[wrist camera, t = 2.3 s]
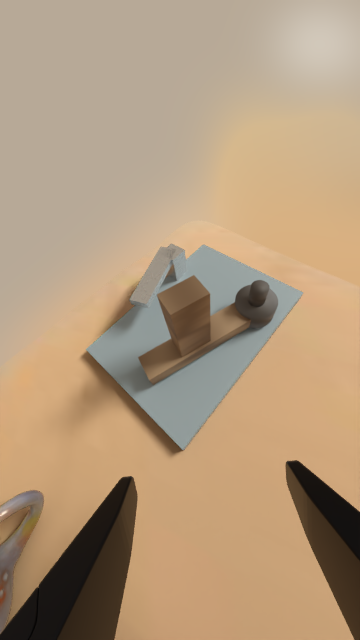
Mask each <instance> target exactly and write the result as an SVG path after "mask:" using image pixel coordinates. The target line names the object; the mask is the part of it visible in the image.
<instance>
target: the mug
mask: <svg viewBox="0 0 360 640" xmlns="http://www.w3.org/2000/svg"><path fill="white" fill-rule="evenodd" d="M43 505H44V496H43V494H42V493H41V492H40V491H37V490H31V491H26V492H23V493H21V494H19V495H17V496H15V497H13V498H12V499H10V500H8V501H7V502H5V503H4V504H2V505H1V506H0V523H1V522H2V521H4V520H5V519H6V518H8V517H9V516H11V515H12V514H14V513H15V512H17V511H19V510H21V509H23V508H25V507H28V506H29V507H30V508H29V511H28V513H27V515H26V517H25V518H24V520H23V521H22V523H21V524H20V526H19V527H18V528H17V530H16V531H15V532H14V533H13V534H12V536H11V537H10V538H9V539H8V540H6V541H5V542H4V543H3V544H1V545H0V633H1V632H2V631H3V630H4V629H5V627H6V624H7V621H8V617H9V614H10V609H11V604H12V596H13V572H14V568H15V565H16V563H17V560H18V558H19V556H20V554H21V552H22V550H23V548H24V546H25V544H26V542H27V540H28V539H29V537H30V535H31V533H32V531H33V529H34V528H35V526H36V524H37V522H38V520H39V518H40V515H41V512H42V509H43Z"/></svg>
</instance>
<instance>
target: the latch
mask: <svg viewBox="0 0 360 640" xmlns="http://www.w3.org/2000/svg"><path fill="white" fill-rule="evenodd" d="M157 297H158V300H159V303H160V306H161V309H162V312H163V315H164V318H165V321H166V324H167V327H168V330H169V333H170V336H171V339H169V340H168V341H166V342H164V343H162V344H160V345H159V346H157V347H155V348H153V349H152V350H150V351H148V352H146V353H145V354H143V355H141V356H139V357H138V359H139V361H140V363H141V365H142V367H143V369H144V371H145V373H146V375H147V377H148V379H149V380H150V382H151V383H152V384H153V385H154V384H156V383H158V382H159V381H161V380H163V379H164V378H166V377H168V376H169V375H171V374H172V373H174V372H176V371H177V370H179V369H181V368H182V367H184V366H186V365H187V364H189V363H191V362H192V361H194V360H196V359H197V358H199V357H201V356H202V355H204V354H206V353H207V352H209V351H211V350H212V349H214V348H216V347H217V346H219V345H221V344H222V343H224V342H226V341H227V340H229V339H231V338H232V337H234V336H236V335H237V334H239V333H241V332H242V331H244V330H246V329H247V328H261V327H264V326H266V325H268V324H269V323H270V322H271V320H272V319H273V316H274V314H275V312H276V309H277V307H278V298H277V296H276V294H275V293H274V292H273V291H272V290H271V289H270V286H269V284H268V283H267V282H265V281H263V280H256V281H254V282H253V283H252V284H251V285H247V286H245V287H243V288H241V289H240V290H239V291H238V292H237V294H236V297H235V302H234V303H232V304H231V305H229V306H227V307H225V308H224V309H222V310H220V311H218V312H217V313H215V314H213V315H211V316H210V293H209V291H208V290H207V289H206V288H205V287H204V286H203V285H202V283H201V282H200V281H199V280H198V279H197V278H196V277H195V275H193V276H191V277H189V278H187V279H185V280H183V281H182V282H180V283H178V284H176V285H174V286H172V287H170V288H168V289H166V290H164V291H162V292H161V293H159V294H157Z"/></svg>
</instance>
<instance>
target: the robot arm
mask: <svg viewBox="0 0 360 640" xmlns="http://www.w3.org/2000/svg"><path fill="white" fill-rule="evenodd" d="M286 480H287V485H288V488H289V491H290V493H291V496H292V499H293V501H294V504H295V507H296V509H297V512H298V515H299V518H300V520H301V523H302V526H303V528H304V531H305V534H306V536H307V539H308V541H309V543H310V546H311V548H312V550H313V552H314V554H315V557H316V559H317V561H318V563H319V565H320V567H321V569H322V571H323V574H324V576H325V578H326V580H327V582H328V584H329V586H330V588H331V591H332V593H333V595H334V597H335V599H336V601H337V603H338V605H339V608H340V610H341V612H342V614H343V616H344V618H345V620H346V623H347V625H348V627H349V629H350V631H351V633H352V635H353V637H354V640H360V512H359V511H358V510H357V509H356V508H354V507H353V506H352V505H351V504H350V503H348V502H347V501H346V500H345V499H344V498H342V497H341V496H340V495H339V494H338V493H336V492H335V491H334V490H333V489H332V488H330V487H329V486H328V485H327V484H326V483H324V482H323V481H322V480H321V479H320V478H318V477H317V476H316V475H315V474H314V473H312V472H311V471H310V470H309V469H308V468H306V467H305V466H304V465H303V464H302V463H300V462H299V461H297V460H294V461H287V462H286ZM136 508H137V491H136V486H135V482H134V478H133V477H132V476H129V477H122V478H121V479H120V480H119V482H118V483H117V484H116V486H115V487H114V488H113V489H112V491H111V492H110V493H109V495H108V496H107V497H106V498H105V500H104V501H103V502H102V504H101V505H100V506H99V508H98V509H97V510H96V511H95V513H94V514H93V515H92V517H91V518H90V519H89V521H88V522H87V523H86V524H85V526H84V527H83V528H82V530H81V531H80V532H79V533H78V535H77V536H76V537H75V539H74V540H73V541H72V543H71V544H70V545H69V546H68V548H67V549H66V550H65V552H64V553H63V554H62V556H61V557H60V558H59V559H58V561H57V562H56V563H55V565H54V566H53V567H52V569H51V570H50V571H49V572H48V574H47V575H46V576H45V578H44V579H43V580H42V581H41V583H40V584H39V588H36V589H35V590H34V592H33V593H32V594H31V596H30V597H29V598H28V599H27V601H26V602H25V603H24V605H23V606H22V607H21V608H20V610H19V611H18V612H17V613H16V615H15V616H14V617H13V618H12V620H11V621H10V622H9V624H8V625H7V626H6V627H5V629H4V630H3V631H2V632H1V633H0V640H114V638H115V633H116V628H117V623H118V618H119V613H120V608H121V603H122V598H123V593H124V588H125V583H126V578H127V573H128V568H129V563H130V557H131V551H132V543H133V534H134V525H135V517H136Z"/></svg>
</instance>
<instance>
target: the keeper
mask: <svg viewBox="0 0 360 640" xmlns="http://www.w3.org/2000/svg"><path fill="white" fill-rule="evenodd" d="M186 272H187V266H186V258H185V250H184V249H182V248H180V247H178V246H175V245H173V244H170V245H169V246H168V247H167V248H165V247H160V249H159V250H158V252H157V254H156V255H155V257H154V259H153V260H152V262H151V264H150V265H149V267H148V269H147V270H146V272H145V274H144V275H143V277H142V279H141V281H140V282H139V284H138V286H137V287H136V289H135V291H134V292H133V294H132V296H131V297H130V299H129V300H130V302H131V304H133V305H136V306H140V307H144V308H148V309H149V307H150V305H151V303H152V301H153V300H154V298H155V296H156V294H157V292H158V290H159V288H160V286H161V285H162V283H163V281H164V279H165V277H167V276H169V277H171V278H173V279H174V280H176V281H178V280H179V279H180V278H181V277H182V276H183V275H184V274H185V273H186Z"/></svg>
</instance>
